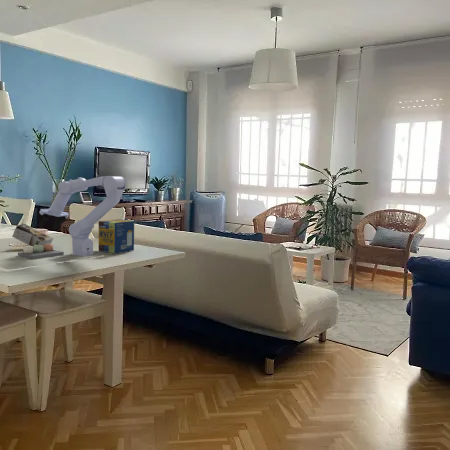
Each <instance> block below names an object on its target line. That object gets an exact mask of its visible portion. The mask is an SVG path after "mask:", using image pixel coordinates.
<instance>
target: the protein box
mask: <svg viewBox="0 0 450 450" xmlns="http://www.w3.org/2000/svg"><path fill="white" fill-rule="evenodd" d="M129 250H133V251H135V221H134V220H130V219H121V218H117V219H107V220H99V221H98V252H100V253H105V254H110V253H113V254H112V255H116V254H115V253H118V254H120V253H119V252H123V253H125V252H124V251H128V252H130V251H129Z"/></svg>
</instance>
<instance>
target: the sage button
mask: <svg viewBox="0 0 450 450" xmlns="http://www.w3.org/2000/svg"><path fill="white" fill-rule="evenodd" d="M43 250H44V249H43V245H34V247H33V251H34V252H35V253H41V252H43Z"/></svg>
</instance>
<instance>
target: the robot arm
mask: <svg viewBox="0 0 450 450" xmlns="http://www.w3.org/2000/svg"><path fill="white" fill-rule="evenodd" d="M95 186H96V187H97V186H100V187H103V189H104V191H105V195H106V197H105V198H104V199H103V200H102V201H101V202H100V203H99V204H98V205H96V206H95V208H94V209H92V210H91V211H90V212H89V213H88V214H87V215H85V217H83V218H82V219H79V220H78V221H77V222H75V223H72V224H70V226H69V227H68V233H69V235H70V236H71V239H72V240H71V243H72V244H71V245H72V251H71V252H72V256H80V257H87V256H93V255H94V242H93V240H92V239H91V238H90V234H91V232H92V231H93V228H95V225H96V223H98V222H99V221H101V219H102V218H103V217H104V216H106V214H108V213H109V212H110V211H111V210H112V209H113V208H114V207H115V206H116V205H118V204H119V203H120V202H121V201H120V200H121V198H122V196H123V193H124V191H125V190H126V188H127V183H126V179H125V178H124V177H123V176H121V175H117V176H116V175H115V176H113V175H107V176H106V175H104V176H98V177H94V178H90V179H86V178H84V177H82V176H81V177H77V179H69V180H68V181H65V180H62V181H61V182H59V184H58V186H57V188H58V191H57V193H56V195H55V198H54V199H53V200H52V201H53V202H52V204H51V205H50V207H49V208H40V210H39V212H38V213H39V223H38V228H40V229H43V228H44V226H45V224H46V223H47V222H48V221H49V220H50V218H49V217H48V216H54V217H55V220H54V223H53V225H52V229H53V230H55V231H57V229H58V228H59V227H60V226H61V225H62V224H63V223H65V222H67V219H68V218H69V215H70V214H69V213H68V212H65V211H64V210H65V208H66V206H67V203H68V201H69V200H70V198H71V196H72V195H73V194H76V193H79V192H84V191H87V190H88V188H90V187H95Z"/></svg>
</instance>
